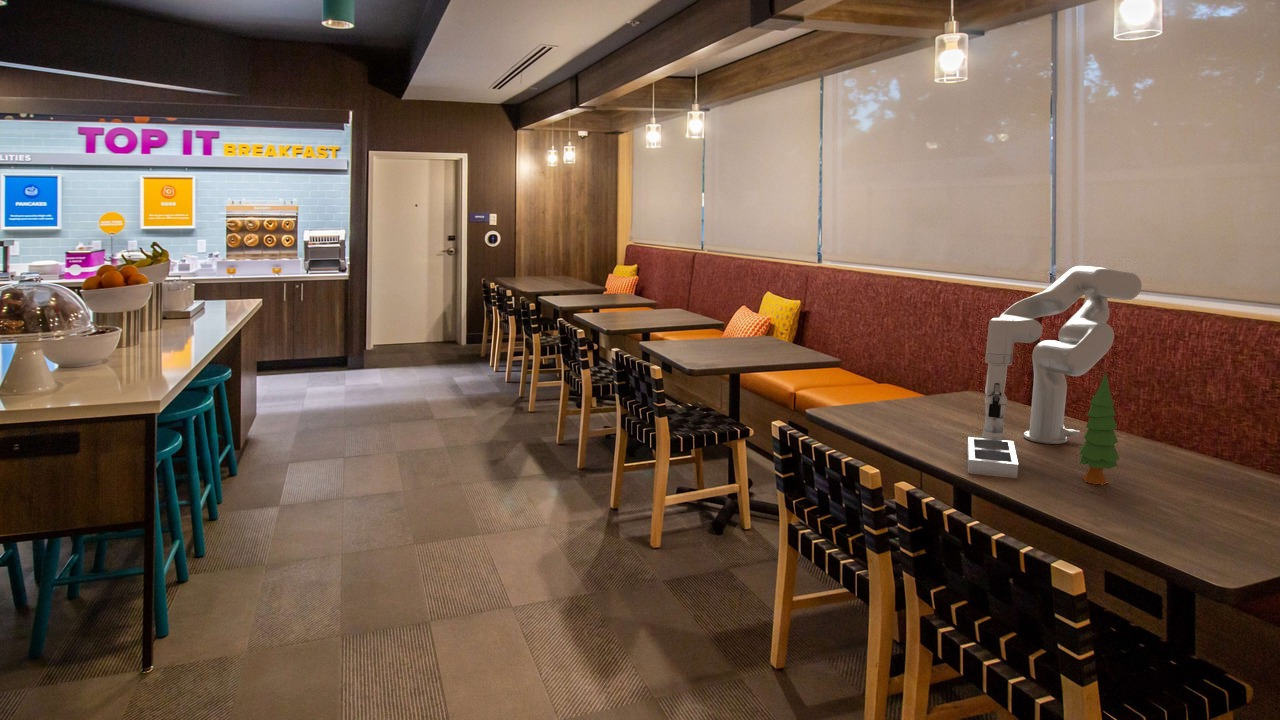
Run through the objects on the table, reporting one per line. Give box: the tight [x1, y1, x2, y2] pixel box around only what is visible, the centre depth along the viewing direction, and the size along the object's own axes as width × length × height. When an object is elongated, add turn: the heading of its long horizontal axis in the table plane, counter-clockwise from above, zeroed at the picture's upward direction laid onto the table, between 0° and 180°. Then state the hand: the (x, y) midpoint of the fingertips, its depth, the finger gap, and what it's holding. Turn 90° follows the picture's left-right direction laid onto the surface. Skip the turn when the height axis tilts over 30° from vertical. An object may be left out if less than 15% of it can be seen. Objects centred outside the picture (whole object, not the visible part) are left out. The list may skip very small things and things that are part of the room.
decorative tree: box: [1079, 371, 1120, 485], centre depth 222 cm, size 10×9×30 cm
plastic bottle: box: [981, 385, 1008, 440], centre depth 256 cm, size 6×7×20 cm
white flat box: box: [966, 436, 1019, 479], centre depth 241 cm, size 12×24×4 cm, turn 160°
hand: (993, 413), depth 256 cm, fingers open, 9 cm apart
